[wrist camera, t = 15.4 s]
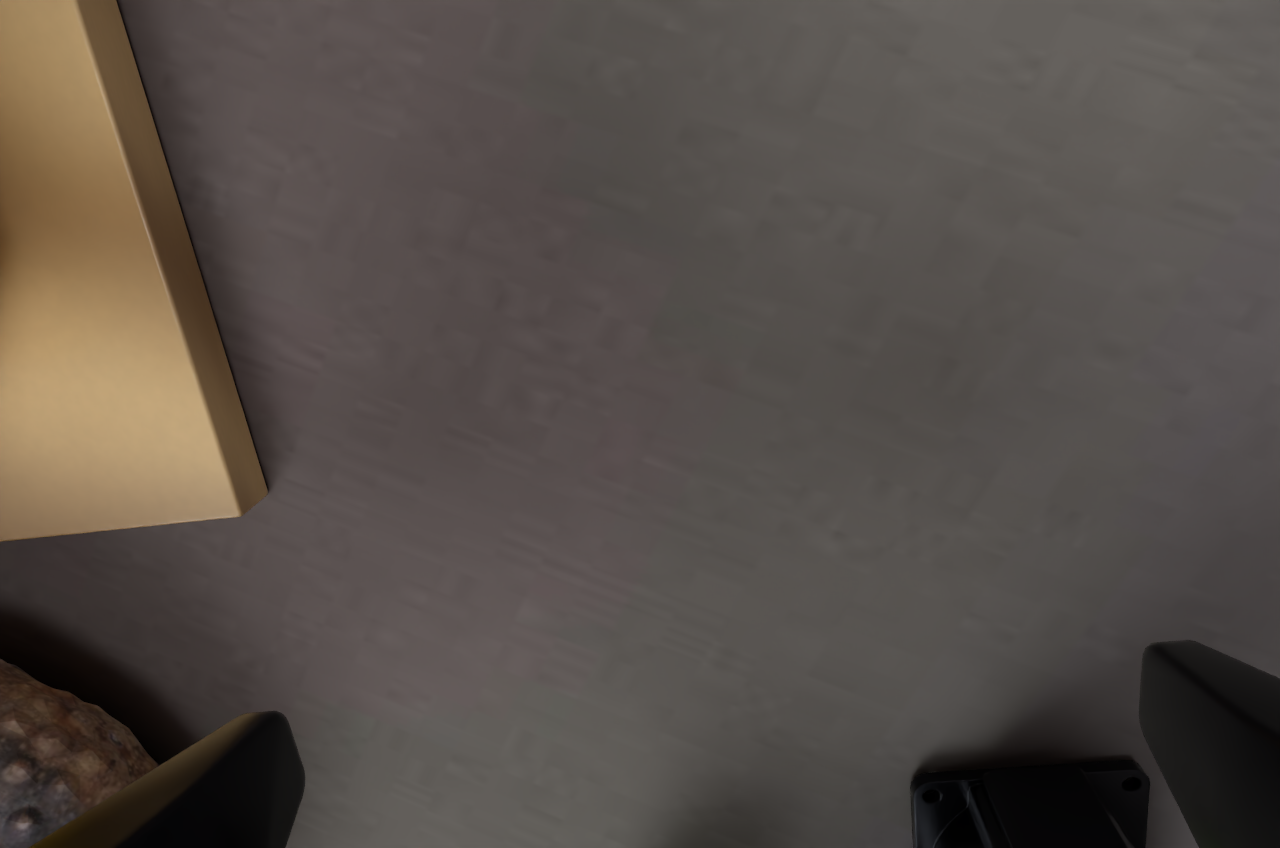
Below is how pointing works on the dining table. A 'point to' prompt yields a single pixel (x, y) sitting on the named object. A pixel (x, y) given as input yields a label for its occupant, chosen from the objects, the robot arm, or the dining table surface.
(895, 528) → the dining table surface
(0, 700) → the sea urchin shell
